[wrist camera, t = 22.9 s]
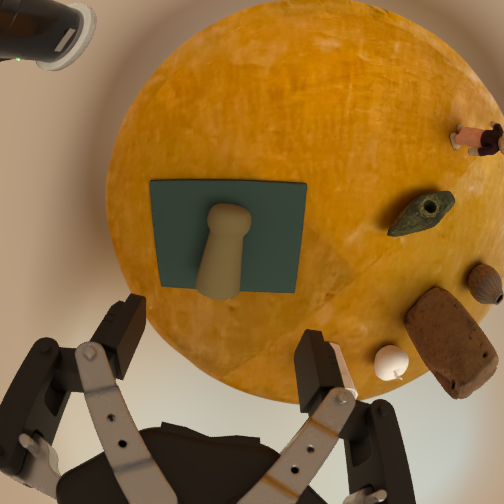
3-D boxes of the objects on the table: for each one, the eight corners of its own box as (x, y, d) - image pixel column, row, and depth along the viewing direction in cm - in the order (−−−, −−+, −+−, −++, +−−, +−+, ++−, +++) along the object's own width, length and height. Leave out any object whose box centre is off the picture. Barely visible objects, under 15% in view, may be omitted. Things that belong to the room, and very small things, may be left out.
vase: (462, 294, 41) (485, 321, 33) (462, 268, 39) (489, 294, 31) (485, 280, 40) (508, 303, 32) (486, 253, 37) (513, 276, 29)
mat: (163, 283, 41) (161, 286, 40) (152, 179, 34) (149, 181, 33) (293, 289, 41) (294, 293, 40) (305, 182, 33) (307, 184, 33)
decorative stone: (417, 164, 31) (436, 171, 27) (446, 193, 33) (465, 203, 28) (377, 226, 36) (391, 241, 31) (409, 250, 37) (424, 265, 33)
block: (441, 277, 39) (503, 353, 22) (450, 300, 42) (502, 372, 24) (395, 313, 43) (441, 401, 25) (408, 333, 45) (449, 413, 27)
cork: (237, 277, 39) (253, 203, 35) (242, 301, 34) (261, 218, 29) (195, 272, 38) (206, 195, 33) (193, 296, 32) (206, 209, 28)
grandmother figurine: (457, 160, 30) (514, 182, 19) (443, 144, 30) (502, 161, 18) (475, 125, 27) (532, 137, 16) (462, 108, 27) (521, 115, 15)
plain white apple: (402, 352, 48) (415, 381, 41) (372, 367, 49) (383, 396, 42) (399, 333, 45) (414, 363, 38) (366, 348, 47) (378, 380, 40)
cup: (349, 352, 47) (363, 398, 37) (319, 367, 49) (328, 413, 39) (334, 334, 45) (348, 382, 35) (302, 350, 47) (310, 400, 37)
